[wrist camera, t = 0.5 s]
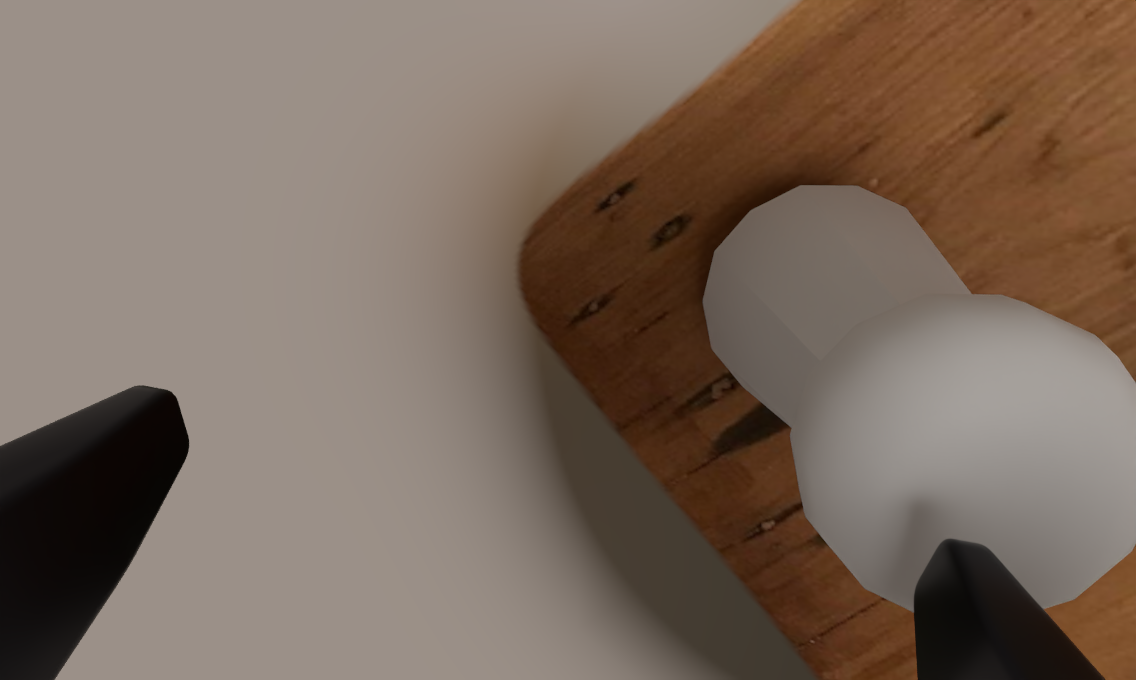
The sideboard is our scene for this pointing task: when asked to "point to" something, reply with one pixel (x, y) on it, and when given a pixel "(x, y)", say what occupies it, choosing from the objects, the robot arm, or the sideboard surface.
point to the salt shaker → (924, 398)
